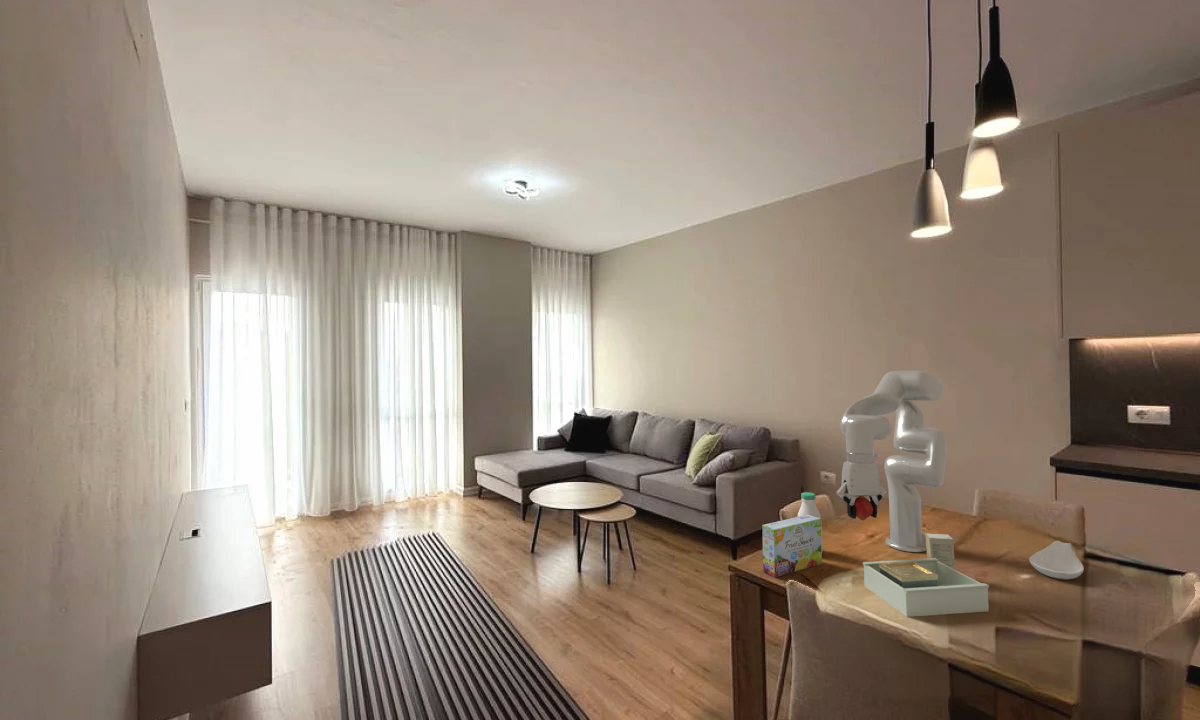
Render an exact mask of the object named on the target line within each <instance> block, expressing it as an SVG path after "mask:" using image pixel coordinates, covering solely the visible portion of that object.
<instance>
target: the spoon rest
mask: <svg viewBox="0 0 1200 720" xmlns="http://www.w3.org/2000/svg"><path fill="white" fill-rule="evenodd" d="M1028 560H1029V563H1030V564H1031V566H1032V567H1033V568H1034V569H1035V570H1036V571H1037V572H1039V573H1040V574H1042V575H1045V576H1047V577H1051V578H1053V579H1057V580H1073V579H1076V578H1079V577H1080V576H1081V575H1082V574H1083V573H1084V569H1085V568H1084V565H1083V563H1082V562H1081V560H1080V559H1079V558H1078V556H1077V553H1076V551H1075V548H1074V546H1073V544H1072V542H1067V543H1066V542H1062V541H1061V540H1055V541H1053V542H1052V543H1051V544H1049V545H1048V546H1046V547H1045V548H1043V549H1040V550H1038V551H1037V552H1034V553H1033V554H1032V555H1031V556H1029V558H1028Z"/></svg>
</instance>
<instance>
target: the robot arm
mask: <svg viewBox="0 0 1200 720" xmlns="http://www.w3.org/2000/svg"><path fill="white" fill-rule="evenodd" d="M944 393H945V386H944V383H943V381H942V379H941V378H939V377H938V376H936V375H934V374H932V373H930V372H927V371H924V370H892V371H889V372H887V373H885V374H884V375H883V376H882V378H881V380H880V382H879V383H878V385H877V386H876V387H875V390H874V391H873V393H871V394H869V395H867V396H865V397H862V398H860V399H858V400H856V401H854V402H853V403H852V404H850V405H849V406H848V407H847V408H846V410H845V412H844V414H843V415H842V416H841V419H840V422H839V423H840V424H839V425H840V431H841V433H842V434H843V435H844V436H845V449H846V450H845V452H846V456H845V457H846V461H843V464H842V470H841V482H840V483H841V486H840V487H839V488H838V489H837V491H836V492H835V493H836V495H838V497H840V499H842V500H843V501H844V502H845V503H846V511H847V512H846V513H847V516H848V517H850V519H851V518H852V519H853V520H856V519H857V516H856V506H855V505H854V502H855V499H856V498H857V497H859V496H864V497H867V499H868V500H869V502H870V503H871V504H872V507H873V513H872V514H871V516H870V517H872V518H874V519H876V518H877V517H878V515H877V514H878V505H880V504H879V503H880V501H881V500H882V499H883V497H884V496H885V495H886V494H887V490H886V489H885V488H884V487H883V486H882V485H881V479H880V473H879V468H878V466H877V463H876V461H875V460H876V459H878V454H877V453H875V452H874V451H875V448H874V447H875V445H874V441H882V440H885V439H887V438H888V437H889V436H890V435H891V433H892V424H891V421H890V419H888V418H886V417H885V416H882V415H888V414H890V413H893V412H895V413H896V414H895V415H896V416H895V423H894V432H893V440H892V441H893V442H892V444H893V447H894V449H895V450H896V451H898V452H901V453H905V454H915V455H923V456H927V457H920V456H912V455H903V454H893V455H890V456H887V458H886V459H885V460H884V473H885V477H886V481H887V489H888V505H889V507H888V509H889V510H888V512H889V532H890V533H889V534H890V536H888V537H886V538H885V544H886V545H887V546H888V547H890V548H891V549H895V550H899V551H903V552H909V553H922V552H924V553H925V552H927V549H926V533H925V532H924V533H923V521H922V498H921V494H920V492H919V491H918V490H917V488H916V487H915V486H921V487H922V486H923V487H929V488H939V487H941V486H942V485H943V483H944V480H945V474H946V464H947V454H948V439H947V435H946V433H945V432H944V431H943V430H942V429H940V428H937V427H924V421H925V414H924V412H923V410H922V409H921V408H920V407H919V406H918V405H917V404H916V402H914V401H919V402H922V401H924V402H925V401H927V402H936V401H939V400H940V399H942V397H943V396H944ZM845 494H846V495H845Z"/></svg>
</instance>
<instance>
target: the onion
mask: <svg viewBox="0 0 1200 720" xmlns="http://www.w3.org/2000/svg"><path fill="white" fill-rule="evenodd" d="M854 505H855V506H856V518H858V519H859V520H860V521H865V520H867V519H869V517H872V516H871V514H872V513H873V507H872V504H871V503H870V500H869V499H868V498H866V496H857V497H856V499H855V502H854Z"/></svg>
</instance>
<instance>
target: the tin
mask: <svg viewBox="0 0 1200 720" xmlns="http://www.w3.org/2000/svg"><path fill="white" fill-rule="evenodd" d="M879 568H880V573H881V574H882V575H884V576H885V577H887V578H888V579H890V580H891V581H893V582H895V583H896V584H898V585H899V586H901V587H902V588H904V589H905V588H920V587H935V586H938V574H936V573H934V572H932V571H931V570H929V569H927V568H925V567H923V566H922V565H920V564H918V563H916V562H914V561H903V562H887V563H879Z"/></svg>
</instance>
